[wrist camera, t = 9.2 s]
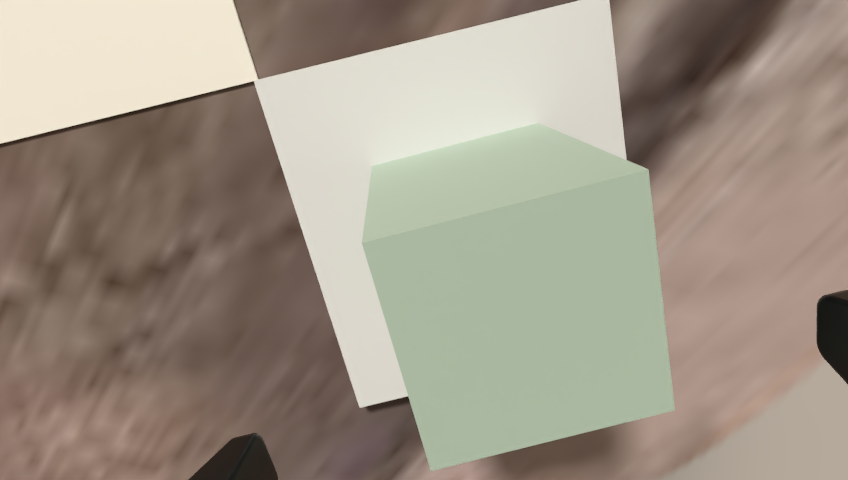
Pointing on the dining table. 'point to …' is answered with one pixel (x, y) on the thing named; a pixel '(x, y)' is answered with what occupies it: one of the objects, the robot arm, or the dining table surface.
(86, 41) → the tile
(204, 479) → the robot arm
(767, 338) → the dining table surface
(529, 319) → the sage block
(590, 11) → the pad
